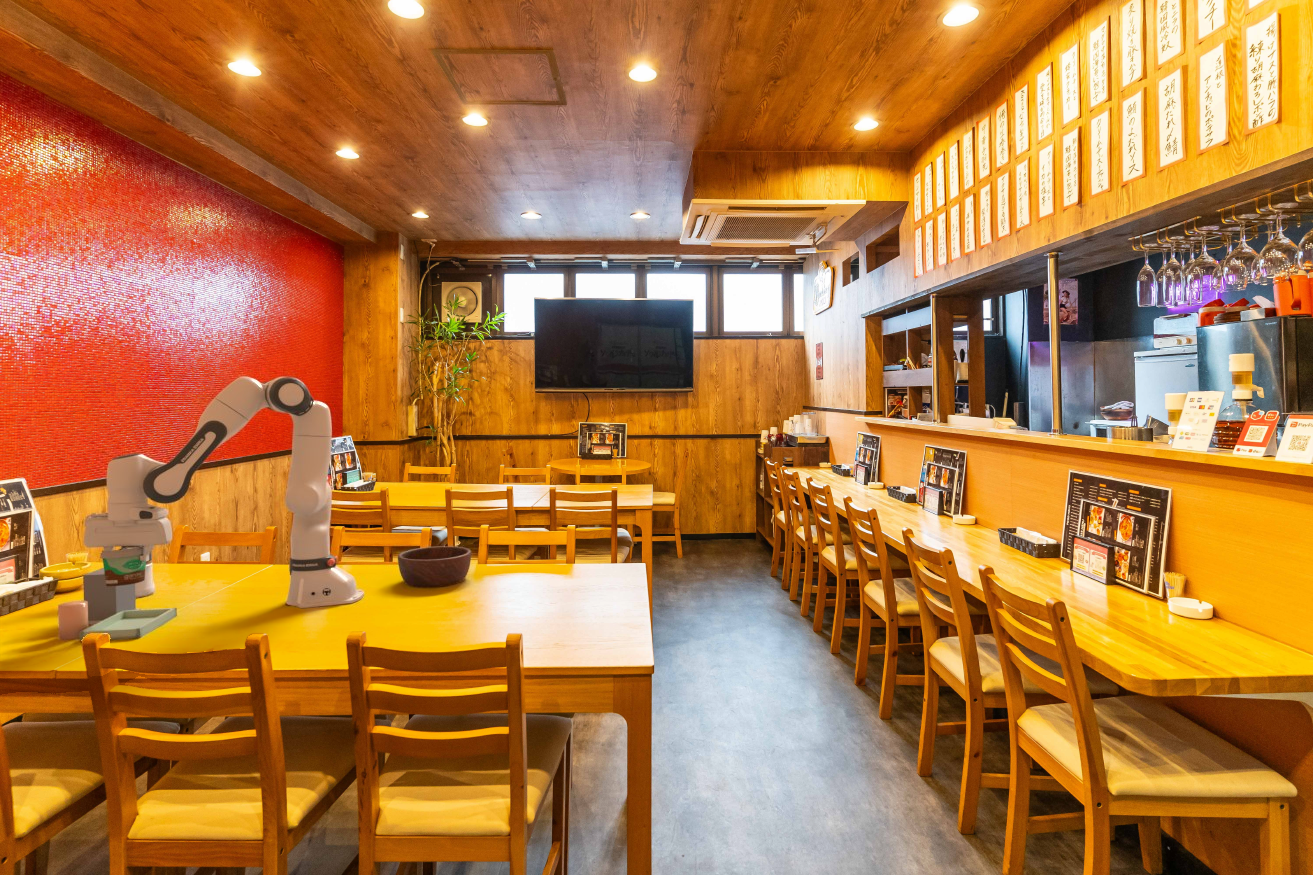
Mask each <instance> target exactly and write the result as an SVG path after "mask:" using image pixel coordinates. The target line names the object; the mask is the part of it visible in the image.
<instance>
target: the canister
mask: <svg viewBox="0 0 1313 875" xmlns="http://www.w3.org/2000/svg"><path fill="white" fill-rule="evenodd" d="M57 612H58V614H57V617H58V618H57V619H58V620H57V621H58V640H59V641H62V642H63V641H64V642H65V641H66V642H67V641H75V640H79V632H81V631H83V630H85V629H87V628H89V625H88V601H84V600H72V601H65V602H63V603H60V604H58V605H57Z"/></svg>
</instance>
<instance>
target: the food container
mask: <svg viewBox="0 0 1313 875" xmlns="http://www.w3.org/2000/svg"><path fill="white" fill-rule="evenodd" d="M146 550H147V549H144V546H137V547H132V548H121V547H120V548H118V549H113V550H104V549H102V550H101V552H100V555H99V556H100V557H99V559H102V565H103V566H102V567H103V568H104V573H105V580H106V586H122V585H130V584H135V583H139V582H142V581H144V580H145V567H146V562H140V556H141V555H144V553H145V552H146Z"/></svg>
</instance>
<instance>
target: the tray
mask: <svg viewBox="0 0 1313 875" xmlns="http://www.w3.org/2000/svg"><path fill="white" fill-rule="evenodd" d="M177 610H178V609H177V607H168V608H167V607H165V608H147V609H145V608H144V609H141V610H126V611H121V612H119V613H117V614H115V615H113V616H111V617H109V618H107V619H105V620H103V621H101V622H99V623H97V624H94V625H91V626H88V628H87V629H85V630H83V631H81V632H79V639H78V640H79V642H80V643H81V640H82V639H83V637H85V636H86V635H87V634H90V633H108V634H109V635H110V638H111V640H110V641H113V640H115V641H117V640H128V639H129V640H130V639H141V638H143V637H145V636H146V635H148V634H149V633H151V632H153V631H155V630H156V629H158V628H160V627H161V626H163V625H164V624H166V623H168V622H170V621H171V620H174V619H175V618H176V617H177V616H178V611H177ZM124 617H125V618H124ZM122 618H124V619H122ZM120 619H122V620H120ZM119 620H120V621H119Z"/></svg>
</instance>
